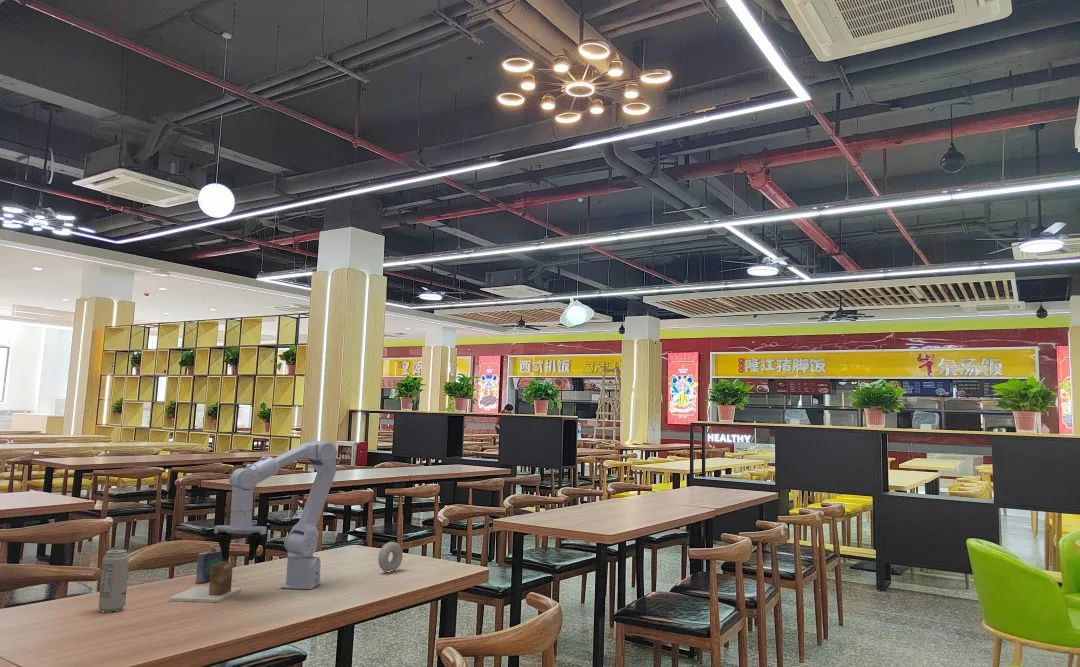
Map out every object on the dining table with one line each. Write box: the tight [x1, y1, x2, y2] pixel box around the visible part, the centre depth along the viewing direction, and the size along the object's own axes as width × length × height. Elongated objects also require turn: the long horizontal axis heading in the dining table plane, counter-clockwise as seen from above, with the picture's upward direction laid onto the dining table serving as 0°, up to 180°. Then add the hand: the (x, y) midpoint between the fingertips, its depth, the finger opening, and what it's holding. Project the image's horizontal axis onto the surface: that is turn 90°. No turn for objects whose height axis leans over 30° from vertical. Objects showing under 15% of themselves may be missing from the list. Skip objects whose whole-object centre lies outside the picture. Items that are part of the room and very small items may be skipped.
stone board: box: [168, 586, 242, 604], centre depth 207 cm, size 14×14×1 cm
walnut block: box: [208, 561, 233, 596], centre depth 207 cm, size 4×6×8 cm, turn 177°
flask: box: [195, 545, 227, 585], centre depth 226 cm, size 9×3×11 cm, turn 146°
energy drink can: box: [98, 549, 130, 613], centre depth 191 cm, size 6×6×15 cm
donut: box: [377, 541, 403, 572], centre depth 244 cm, size 10×4×10 cm, turn 146°
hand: (238, 559), depth 208 cm, fingers open, 7 cm apart
